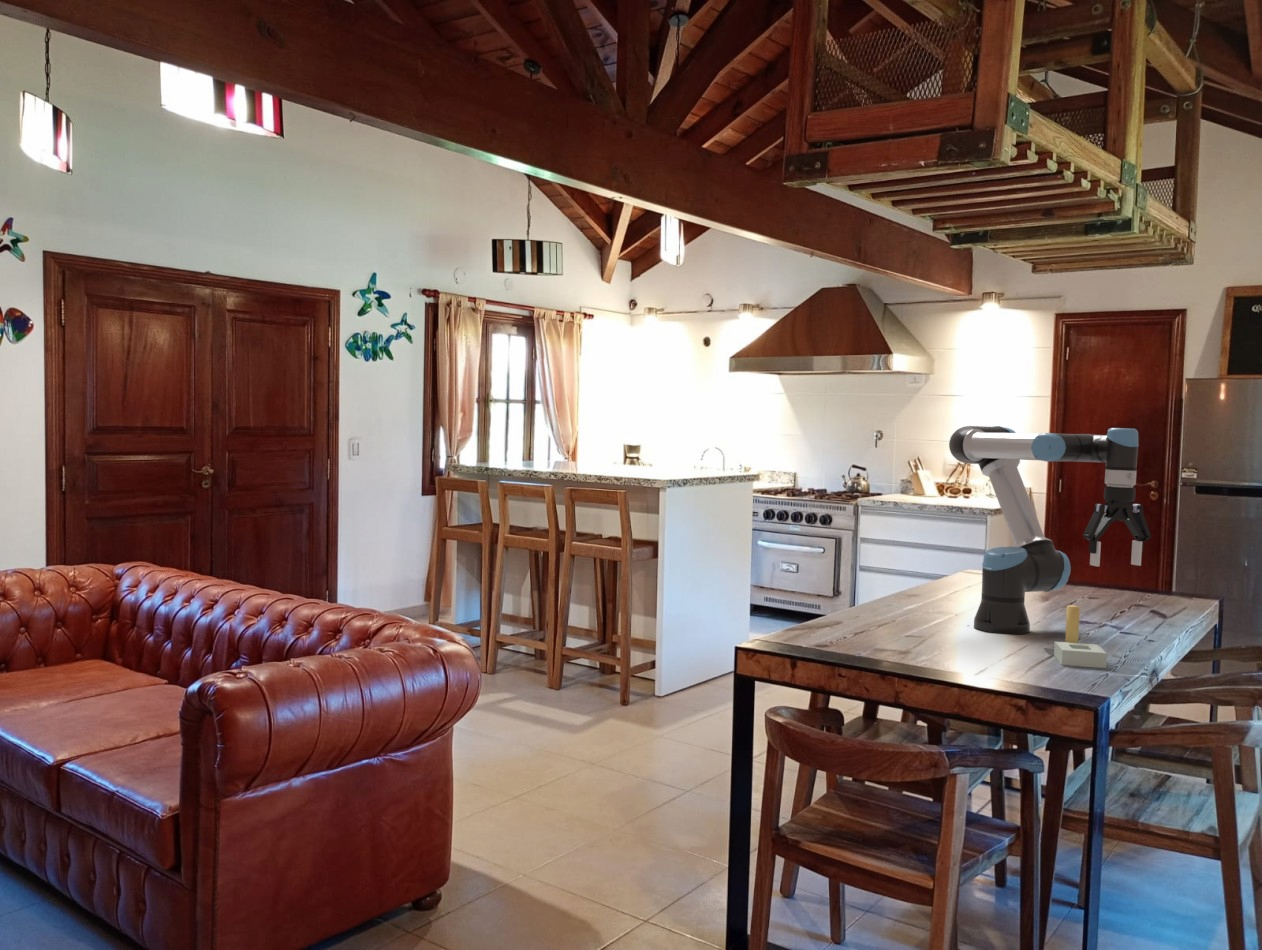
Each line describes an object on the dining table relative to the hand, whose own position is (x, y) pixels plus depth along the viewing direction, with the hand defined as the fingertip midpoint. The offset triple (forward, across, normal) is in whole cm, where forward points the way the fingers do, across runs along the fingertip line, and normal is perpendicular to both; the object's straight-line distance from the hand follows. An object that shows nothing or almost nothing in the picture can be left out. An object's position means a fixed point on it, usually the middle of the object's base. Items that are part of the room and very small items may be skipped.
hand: (1115, 565), depth 269 cm
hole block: (+22, -24, -16) cm, 36 cm away
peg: (+21, -19, -7) cm, 30 cm away
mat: (+22, -19, -7) cm, 30 cm away
